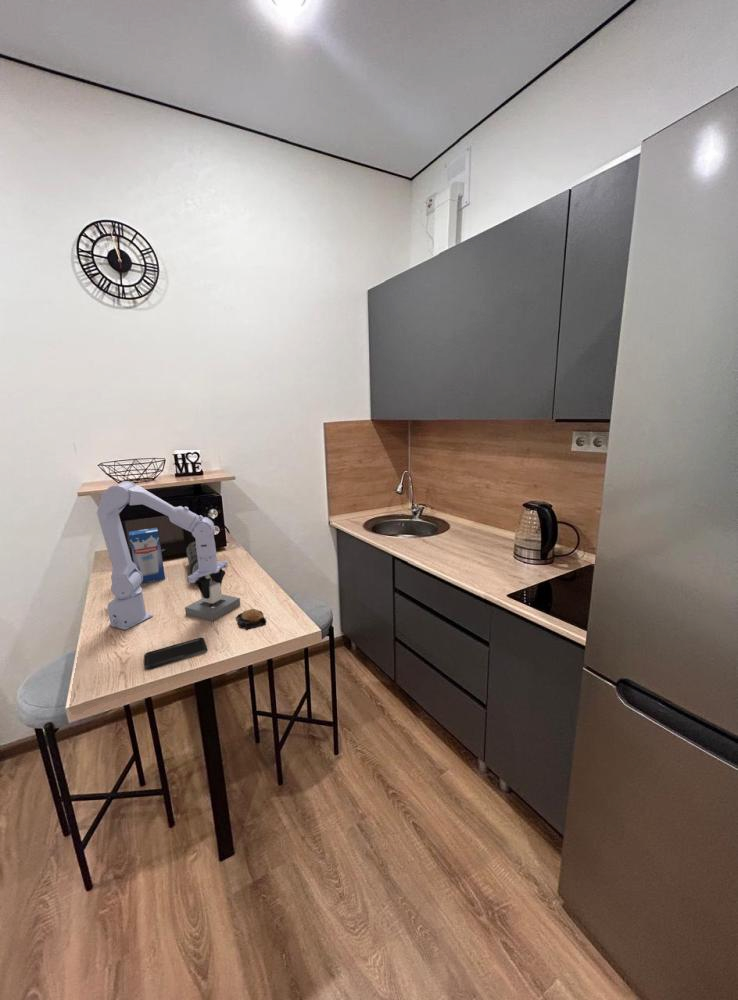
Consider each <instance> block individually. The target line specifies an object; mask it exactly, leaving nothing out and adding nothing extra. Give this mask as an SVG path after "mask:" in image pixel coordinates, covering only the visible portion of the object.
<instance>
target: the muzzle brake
mask: <svg viewBox="0 0 738 1000" xmlns="http://www.w3.org/2000/svg"><path fill="white" fill-rule="evenodd" d="M185 552H186V557H187V560H188V561H187V562H188V566H189V567H188V569H189V573H190V575H192V574H193V573H195V572H196V571H197V570H199V566H198V558H197V551H196V540H195V541H191V542H190V543H189V544H188V546H187V547H186V551H185ZM205 578H207V579H210V580H211V577H210V575H207V576H205Z"/></svg>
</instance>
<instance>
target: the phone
mask: <svg viewBox="0 0 738 1000" xmlns="http://www.w3.org/2000/svg"><path fill="white" fill-rule="evenodd" d="M207 652H208V646H207V644H206V641H205V638H204V637H198V638H195V639H191V640H186V641H183V642H180V643H176V644H172V645H169V646H167V647H162V648H158V649H154V650H152V651H151V650H150V651H148V652H146V653H144V654H143V656H144V657H143V658H144V659H143V660H144V661H143V663H144V668H145V669H144V670H147V671H149V670H154V669H156V668H160V667H163V666H166V665H170V664H172V663H177V662H179V661H183V660H186V659H190V658H193V657H197V656H199V655H203V654H206V653H207Z"/></svg>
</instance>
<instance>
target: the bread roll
mask: <svg viewBox="0 0 738 1000" xmlns="http://www.w3.org/2000/svg"><path fill="white" fill-rule="evenodd" d="M235 621H236V622H237V625H238V626H239V628H241V629H245V631H249V630H252V629H253V630H254V629H256V628H261V627H264V626H265V625H266V623H267V620H266V618H265V617H264V613H263V612H262V610H257V609H255V608H251V609H247V610H244V611H243V612H241V613H239V614H238V615H237V616H235Z"/></svg>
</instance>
